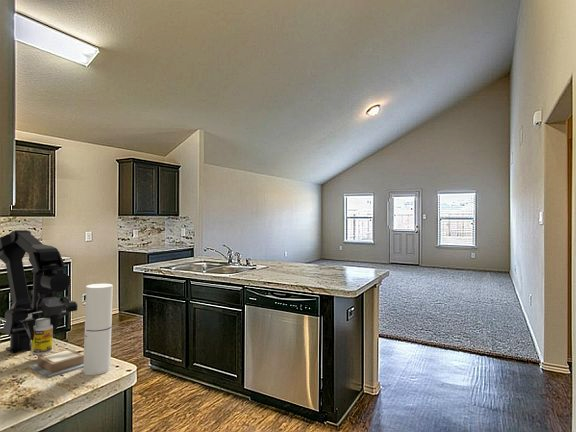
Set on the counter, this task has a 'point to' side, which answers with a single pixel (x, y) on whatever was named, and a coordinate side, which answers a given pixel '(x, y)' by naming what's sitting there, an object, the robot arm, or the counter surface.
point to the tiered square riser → (58, 363)
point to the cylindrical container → (98, 329)
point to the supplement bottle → (42, 337)
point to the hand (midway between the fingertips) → (42, 337)
